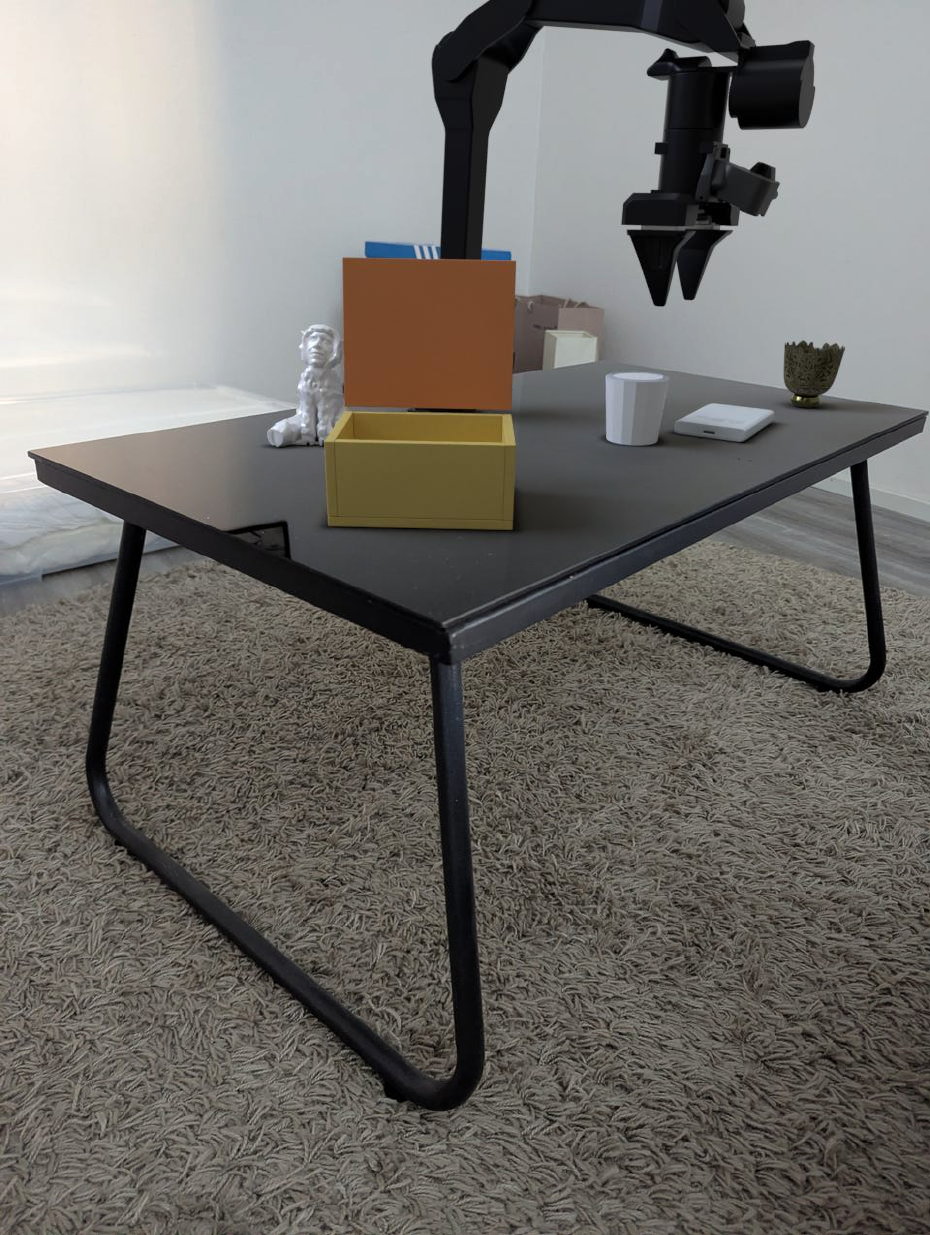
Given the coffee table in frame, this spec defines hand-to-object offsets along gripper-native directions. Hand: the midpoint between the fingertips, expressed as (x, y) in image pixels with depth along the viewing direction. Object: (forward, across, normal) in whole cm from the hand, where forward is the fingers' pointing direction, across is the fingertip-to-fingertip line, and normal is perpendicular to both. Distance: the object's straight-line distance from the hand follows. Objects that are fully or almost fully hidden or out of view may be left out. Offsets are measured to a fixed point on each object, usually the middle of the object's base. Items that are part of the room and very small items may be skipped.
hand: (674, 303), depth 93 cm
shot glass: (+15, 0, +3) cm, 15 cm away
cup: (+15, +32, -9) cm, 36 cm away
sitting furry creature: (+15, -20, +31) cm, 40 cm away
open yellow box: (+15, -34, +9) cm, 38 cm away
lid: (+1, -28, +12) cm, 31 cm away
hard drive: (+15, +12, -4) cm, 19 cm away
